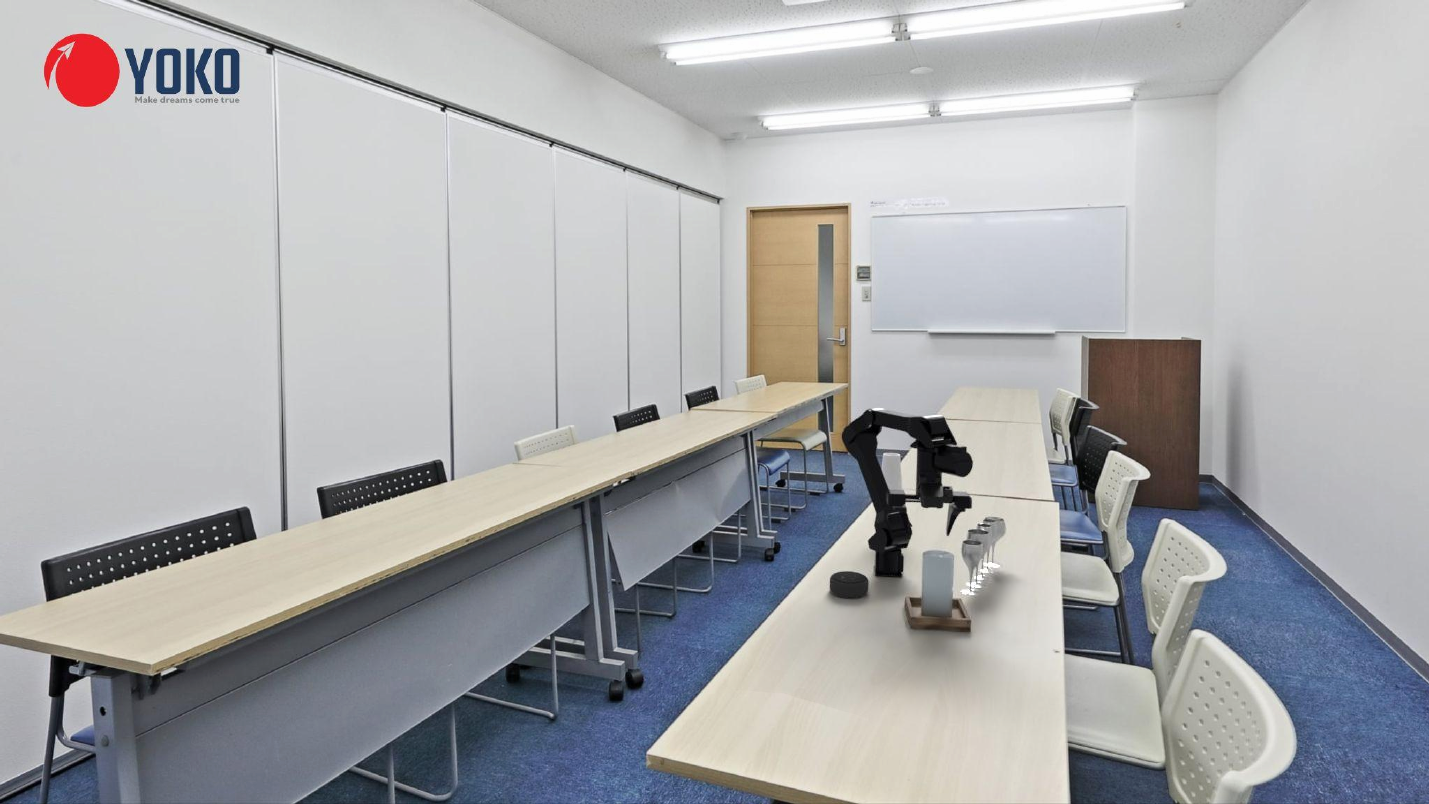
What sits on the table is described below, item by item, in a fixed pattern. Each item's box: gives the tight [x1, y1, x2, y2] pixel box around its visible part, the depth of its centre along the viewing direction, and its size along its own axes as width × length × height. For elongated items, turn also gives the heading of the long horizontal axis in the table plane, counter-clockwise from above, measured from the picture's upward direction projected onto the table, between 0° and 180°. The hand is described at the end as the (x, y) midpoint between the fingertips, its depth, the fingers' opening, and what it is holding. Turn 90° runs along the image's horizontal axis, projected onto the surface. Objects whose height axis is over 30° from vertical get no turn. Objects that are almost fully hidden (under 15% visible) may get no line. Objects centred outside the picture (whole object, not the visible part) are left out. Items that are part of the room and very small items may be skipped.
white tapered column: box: [881, 452, 903, 490], centre depth 223 cm, size 7×7×24 cm
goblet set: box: [960, 516, 1007, 596], centre depth 189 cm, size 28×6×13 cm, turn 148°
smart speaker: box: [829, 570, 870, 599], centre depth 180 cm, size 9×9×4 cm
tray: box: [904, 595, 972, 633], centre depth 165 cm, size 12×12×2 cm
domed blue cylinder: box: [920, 549, 955, 618], centre depth 164 cm, size 6×6×13 cm
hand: (927, 534), depth 181 cm, fingers open, 9 cm apart
